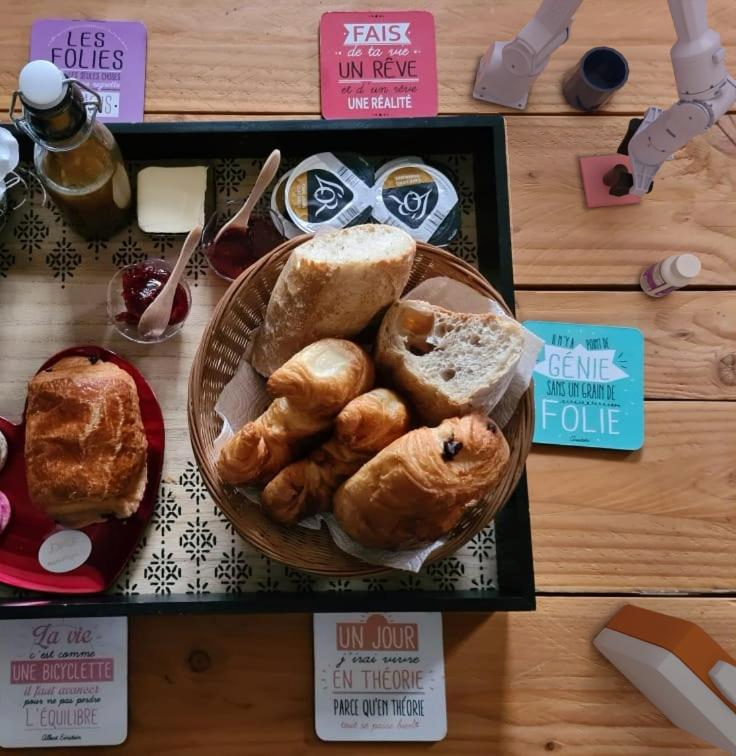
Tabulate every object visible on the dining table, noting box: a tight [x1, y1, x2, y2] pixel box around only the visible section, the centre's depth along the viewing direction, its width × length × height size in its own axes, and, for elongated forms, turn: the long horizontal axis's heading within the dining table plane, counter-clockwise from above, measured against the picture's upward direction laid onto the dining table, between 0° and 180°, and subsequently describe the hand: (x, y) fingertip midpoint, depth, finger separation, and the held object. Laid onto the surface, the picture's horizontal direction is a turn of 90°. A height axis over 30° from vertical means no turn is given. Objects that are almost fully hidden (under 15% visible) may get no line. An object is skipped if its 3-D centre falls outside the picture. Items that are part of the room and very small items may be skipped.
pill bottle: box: [639, 253, 702, 298], centre depth 121 cm, size 5×5×10 cm
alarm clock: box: [592, 603, 736, 756], centre depth 106 cm, size 18×9×21 cm, turn 45°
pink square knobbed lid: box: [578, 154, 640, 208], centre depth 126 cm, size 9×9×4 cm
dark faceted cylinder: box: [562, 45, 630, 112], centre depth 128 cm, size 8×8×6 cm
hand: (618, 173), depth 125 cm, fingers open, 7 cm apart
